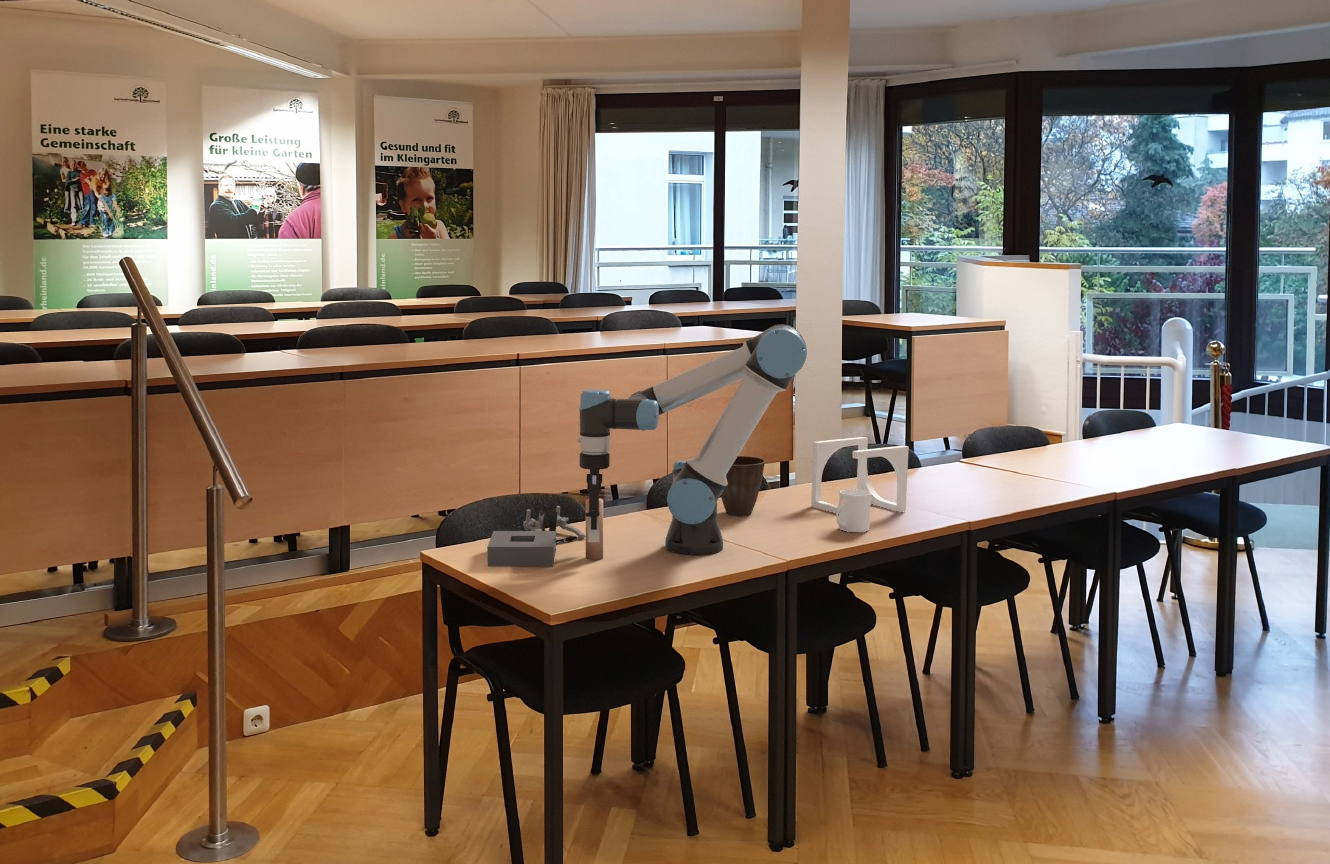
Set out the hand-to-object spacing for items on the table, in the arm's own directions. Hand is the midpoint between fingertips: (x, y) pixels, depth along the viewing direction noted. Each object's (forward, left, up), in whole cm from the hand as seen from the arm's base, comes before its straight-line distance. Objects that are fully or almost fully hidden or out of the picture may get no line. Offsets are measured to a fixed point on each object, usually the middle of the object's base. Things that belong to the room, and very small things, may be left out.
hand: (593, 535), depth 298 cm
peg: (0, 0, -6) cm, 6 cm away
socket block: (+18, 0, -6) cm, 19 cm away
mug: (-71, -29, -6) cm, 77 cm away
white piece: (-79, -56, -6) cm, 97 cm away
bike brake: (+10, -20, -6) cm, 23 cm away
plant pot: (-42, -50, -6) cm, 66 cm away
